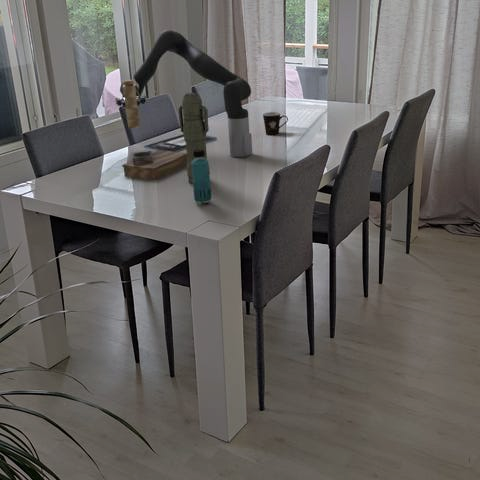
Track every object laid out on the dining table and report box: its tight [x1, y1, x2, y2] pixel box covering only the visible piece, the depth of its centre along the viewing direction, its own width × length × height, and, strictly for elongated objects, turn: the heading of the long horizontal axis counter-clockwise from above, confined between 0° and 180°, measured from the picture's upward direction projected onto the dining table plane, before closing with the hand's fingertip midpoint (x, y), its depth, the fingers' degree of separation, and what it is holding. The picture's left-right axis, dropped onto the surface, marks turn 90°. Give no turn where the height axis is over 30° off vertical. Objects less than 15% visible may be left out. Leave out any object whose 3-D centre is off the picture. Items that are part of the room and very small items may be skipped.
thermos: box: [178, 92, 211, 185], centre depth 267 cm, size 9×12×35 cm
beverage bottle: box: [191, 149, 213, 203], centre depth 244 cm, size 6×7×20 cm
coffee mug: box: [262, 111, 289, 136], centre depth 338 cm, size 12×9×10 cm
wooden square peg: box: [123, 79, 141, 129], centre depth 296 cm, size 5×5×20 cm
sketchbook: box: [143, 133, 218, 152], centre depth 334 cm, size 22×30×2 cm
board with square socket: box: [121, 150, 188, 181], centre depth 291 cm, size 17×25×8 cm
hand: (131, 103), depth 293 cm, fingers closed on wooden square peg, 5 cm apart
